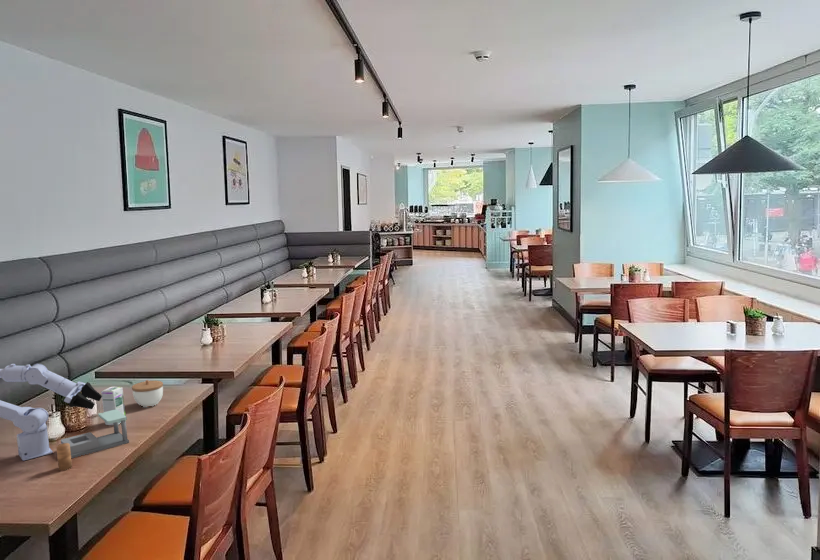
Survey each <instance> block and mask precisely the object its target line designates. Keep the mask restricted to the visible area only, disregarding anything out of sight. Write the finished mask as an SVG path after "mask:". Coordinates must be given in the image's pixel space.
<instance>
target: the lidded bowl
mask: <svg viewBox="0 0 820 560" xmlns="http://www.w3.org/2000/svg"><path fill="white" fill-rule="evenodd" d="M131 390H132V397H133V399H134V401H135V402H136V404H138V405H139V406H140V405H141V406H143V407H142V408H148V407H147V406H152V407H155V406H157V405H158V404H159V402H160V401H161V400H162V398H163V395H164V383H163V381H160V380H149V379H146V380H145V381H141V382H140V381H139V382H138V383H135V384H133V385H132V386H131ZM156 404H157V405H156ZM154 405H155V406H154ZM141 406H140V407H141Z"/></svg>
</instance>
